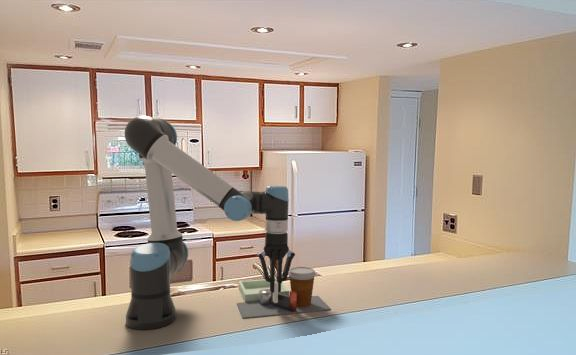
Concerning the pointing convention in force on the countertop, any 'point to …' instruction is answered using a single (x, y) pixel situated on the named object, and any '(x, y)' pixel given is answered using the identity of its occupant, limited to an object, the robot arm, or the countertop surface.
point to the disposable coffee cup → (302, 284)
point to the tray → (256, 289)
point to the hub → (265, 297)
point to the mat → (278, 308)
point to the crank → (287, 301)
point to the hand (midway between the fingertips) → (275, 301)
